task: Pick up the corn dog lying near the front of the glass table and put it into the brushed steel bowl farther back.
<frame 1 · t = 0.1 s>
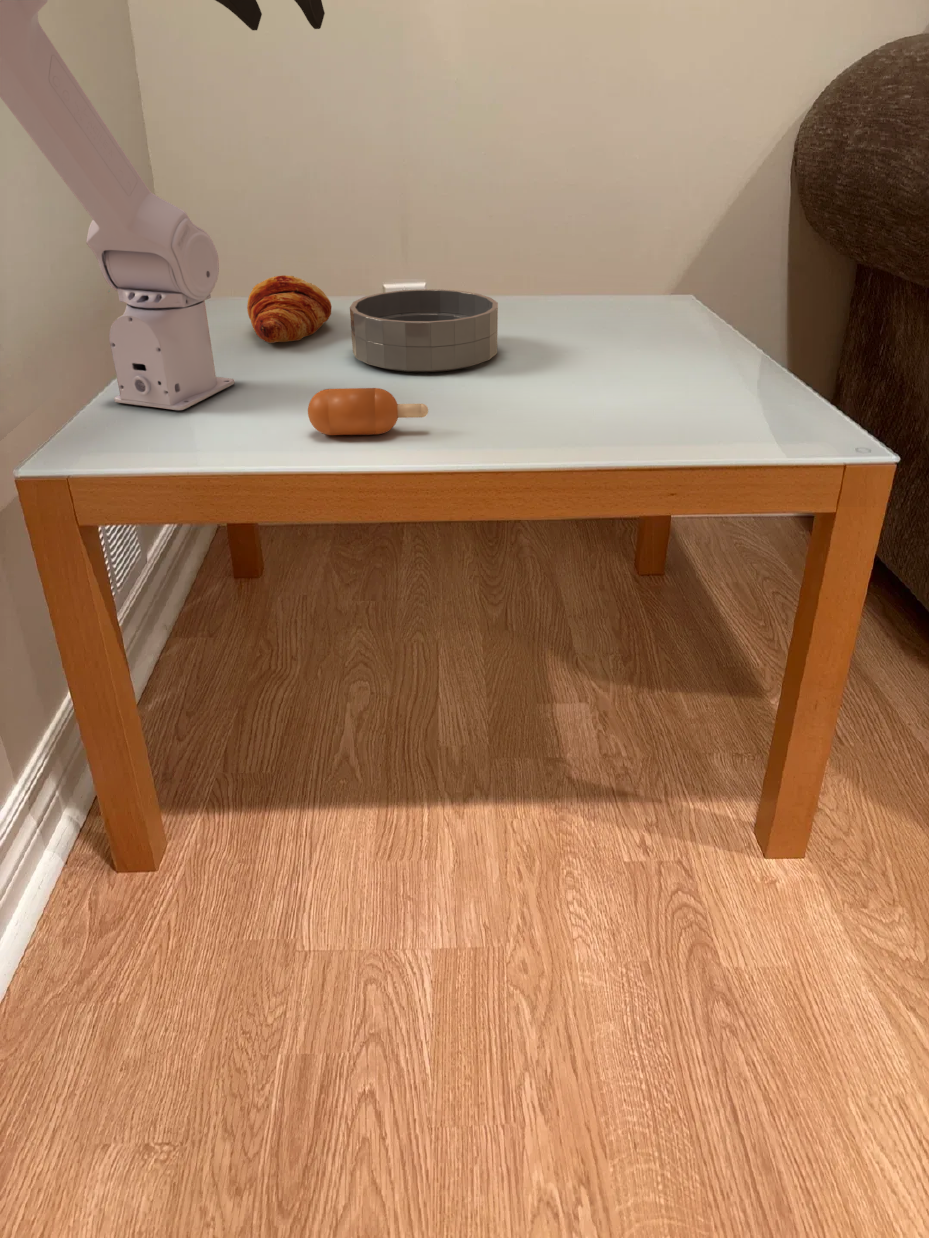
hand: (287, 21, 98), 32 cm above the table, tool tilted 50°, fingers open, 7 cm apart
croissant: (292, 331, 114), on the table
corn dog: (355, 433, 82), on the table
bowl: (425, 354, 104), on the table
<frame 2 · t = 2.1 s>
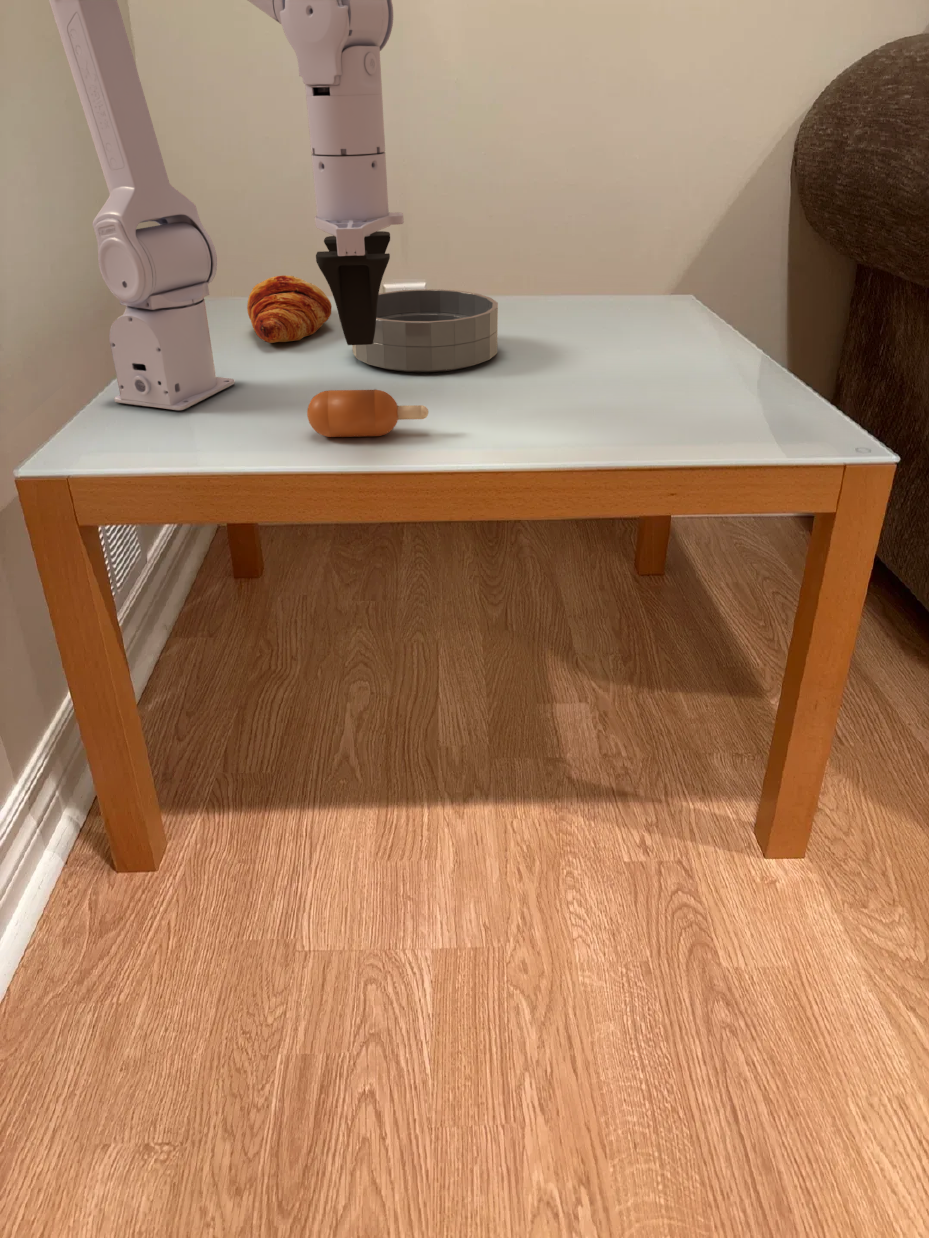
hand: (361, 332, 78), 9 cm above the table, tool pointing down, fingers open, 7 cm apart
corn dog: (355, 432, 82), on the table, tilted 14°
everything else where it was.
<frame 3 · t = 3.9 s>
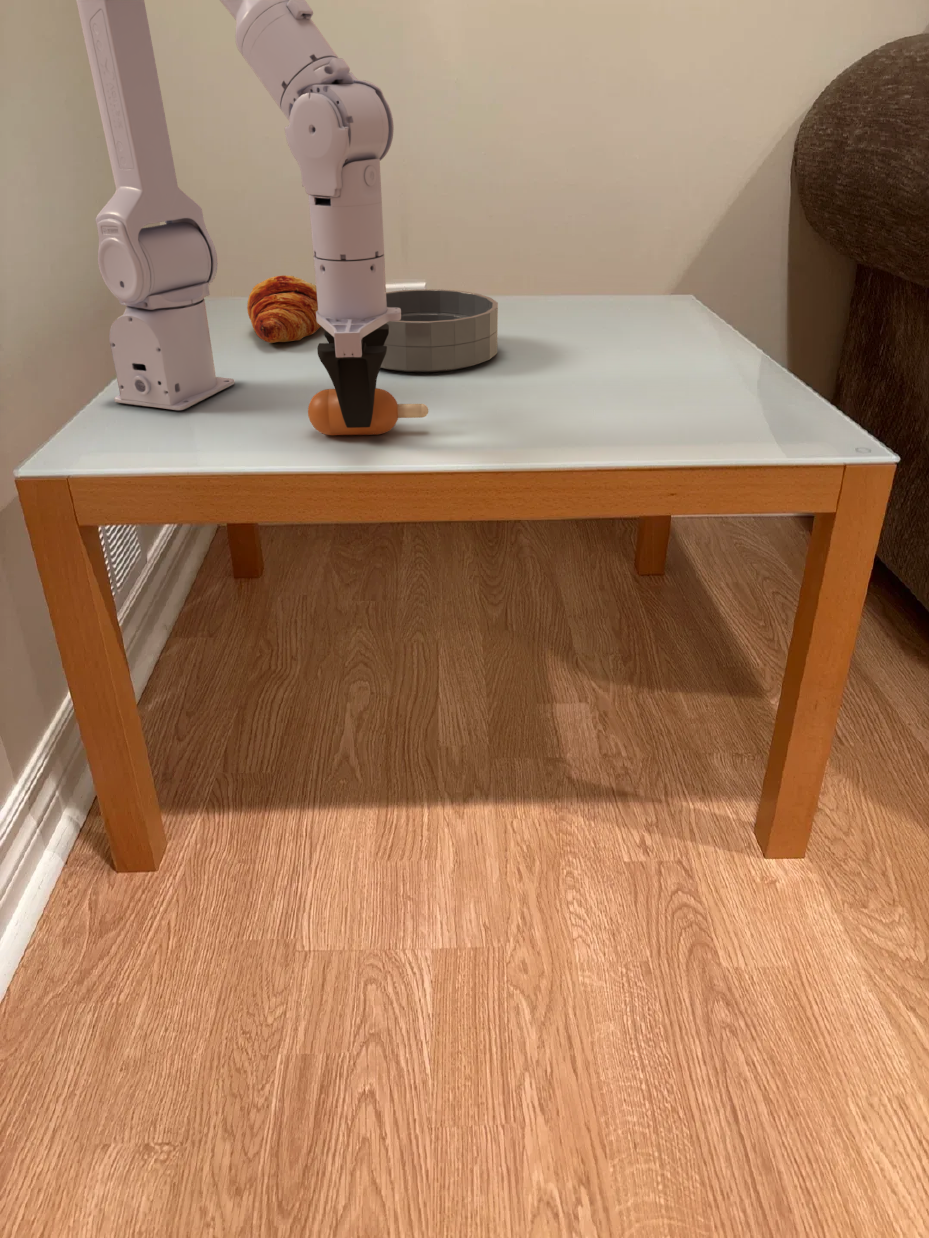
hand: (359, 417, 81), 1 cm above the table, tool pointing down, fingers closed on corn dog, 4 cm apart
corn dog: (355, 433, 82), on the table, touching gripper
everything else where it was.
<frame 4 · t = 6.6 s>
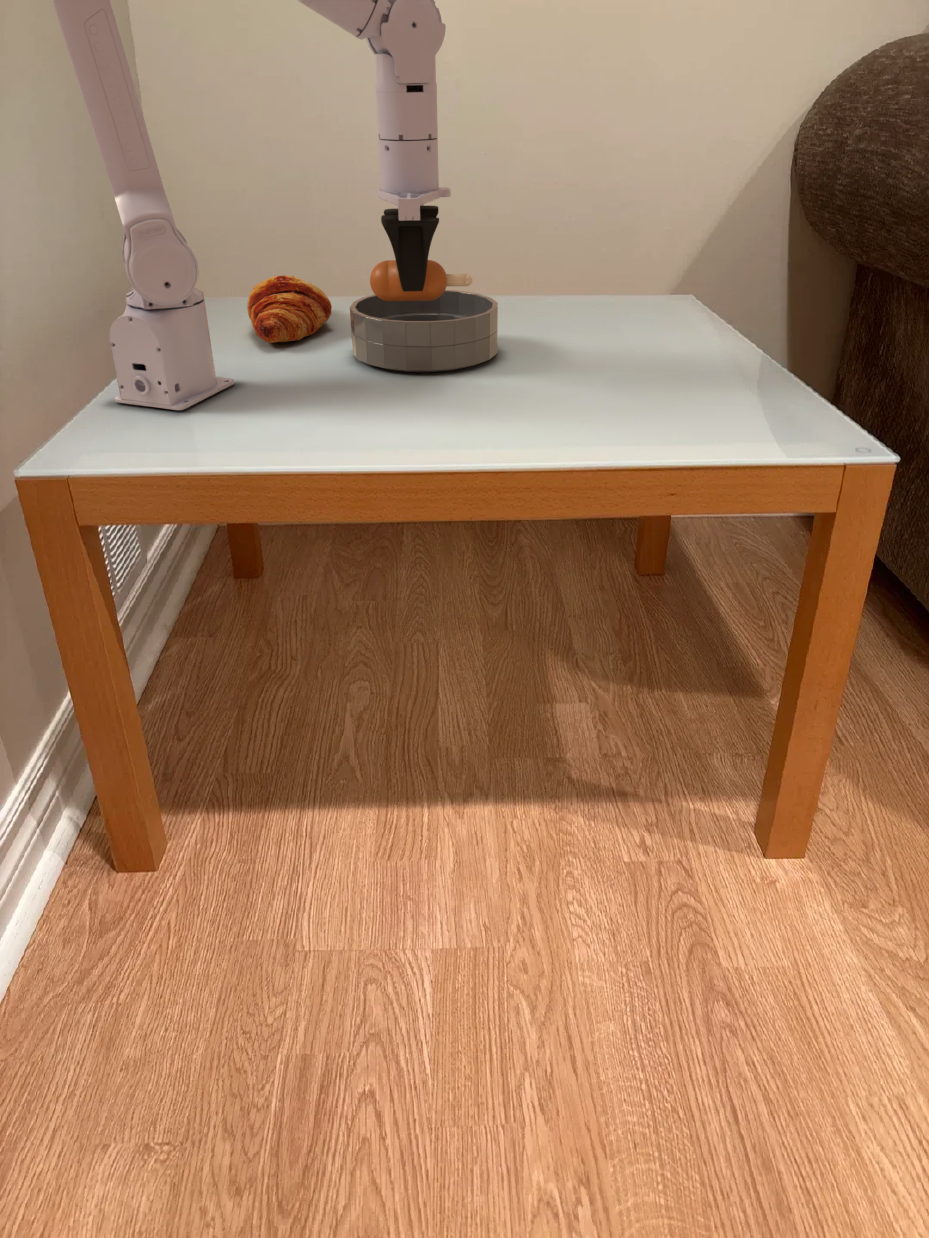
hand: (413, 286, 95), 8 cm above the table, tool pointing down, fingers closed on corn dog, 4 cm apart
corn dog: (409, 300, 96), point 7 cm above the table, touching gripper
everything else where it was.
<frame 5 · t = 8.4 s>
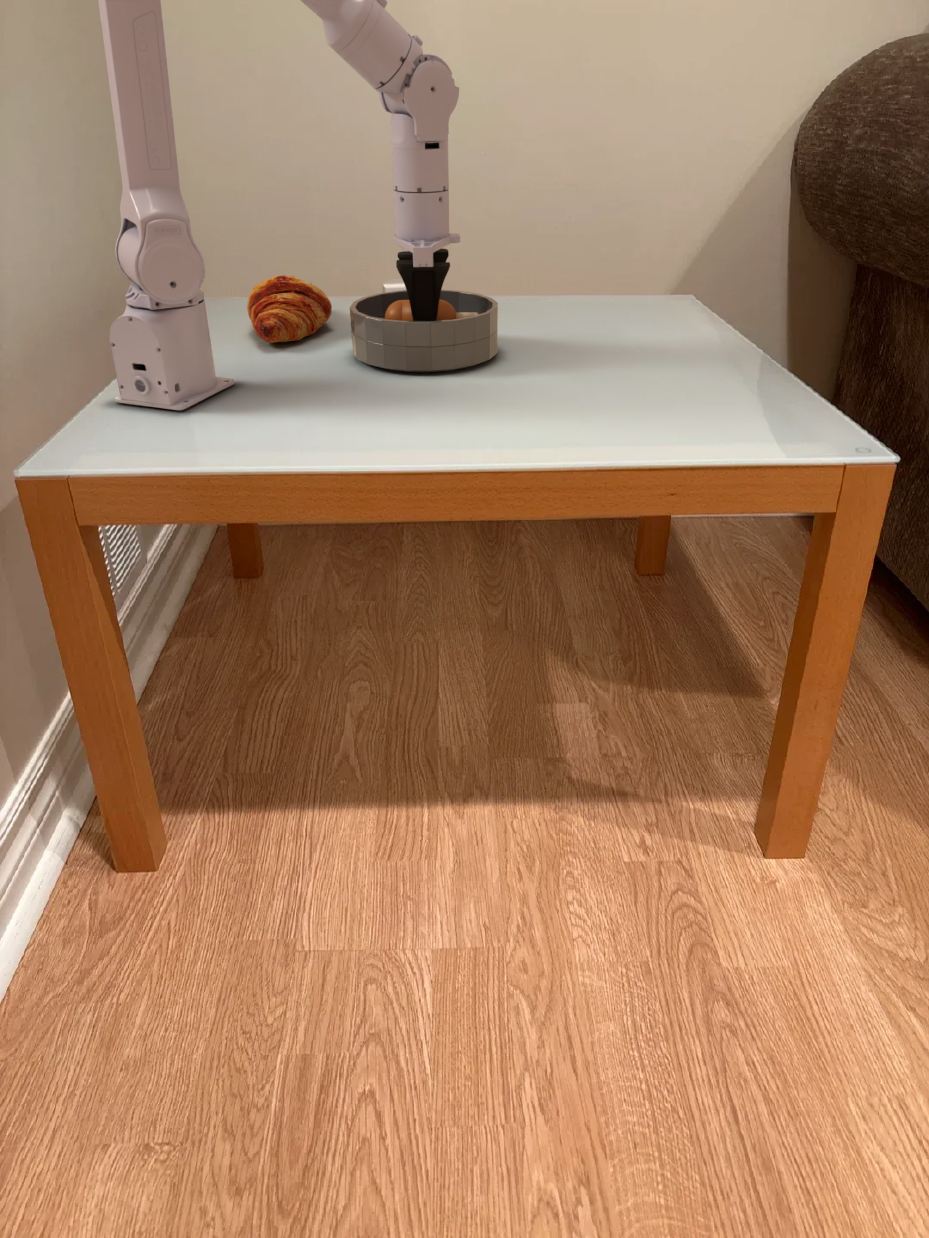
hand: (424, 323, 102), 3 cm above the table, tool pointing down, fingers closed on corn dog, 4 cm apart
corn dog: (421, 337, 103), point 2 cm above the table, touching gripper
everything else where it was.
when the fingers open (2 cm above the table, at t = 9.3 s): corn dog stays where it is, resting on bowl.
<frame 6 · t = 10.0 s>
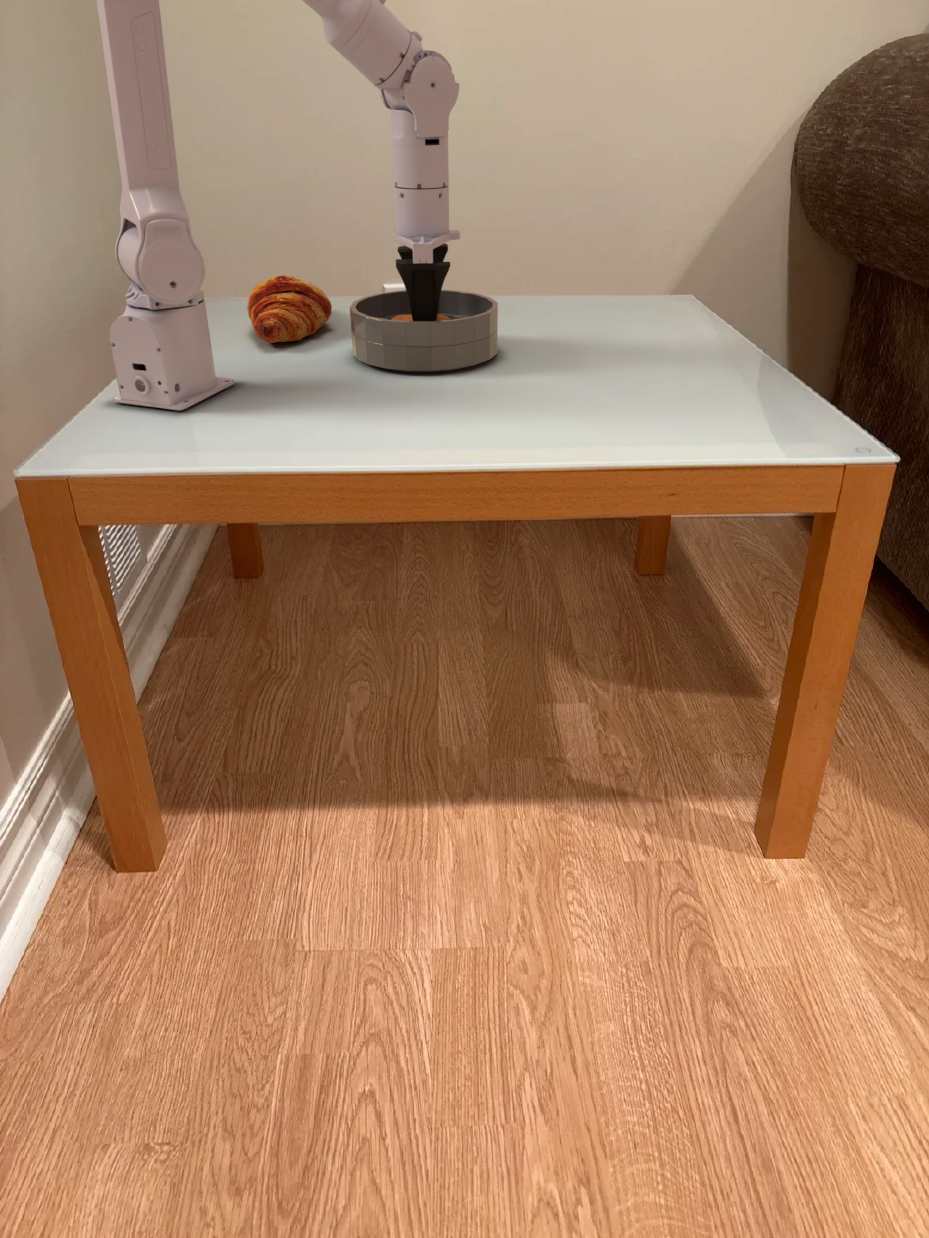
hand: (424, 320, 102), 4 cm above the table, tool pointing down, fingers open, 7 cm apart
corn dog: (421, 349, 104), point 1 cm above the table, tilted 14°, touching bowl
everything else where it was.
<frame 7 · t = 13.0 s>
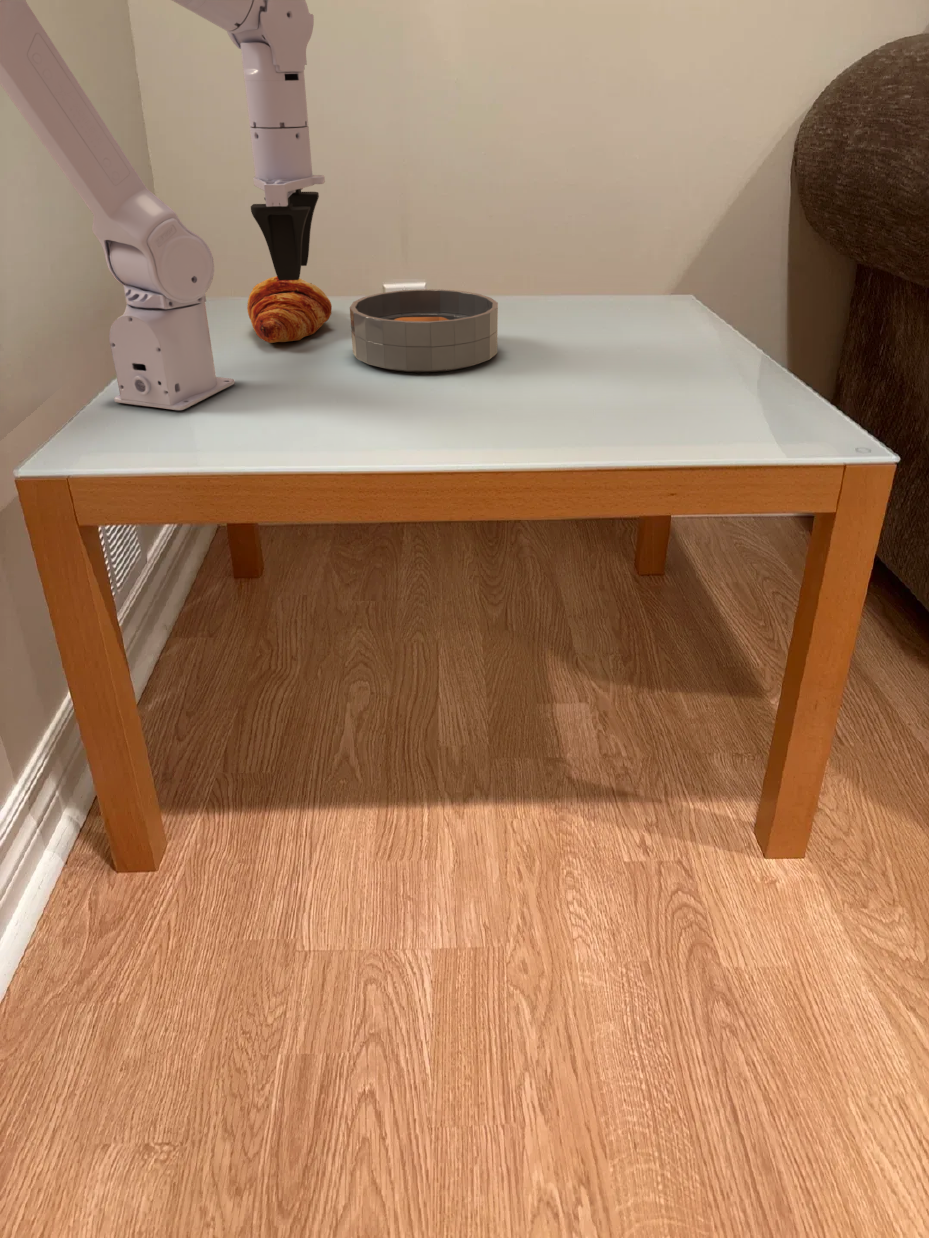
hand: (293, 272, 97), 9 cm above the table, tool pointing down, fingers open, 7 cm apart
corn dog: (421, 344, 103), point 1 cm above the table, tilted 49°, touching bowl
everything else where it was.
at the end: corn dog inside the target area in the bowl (0.4 cm from its centre), point 1.2 cm above the bowl's base; the gripper is holding nothing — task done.
